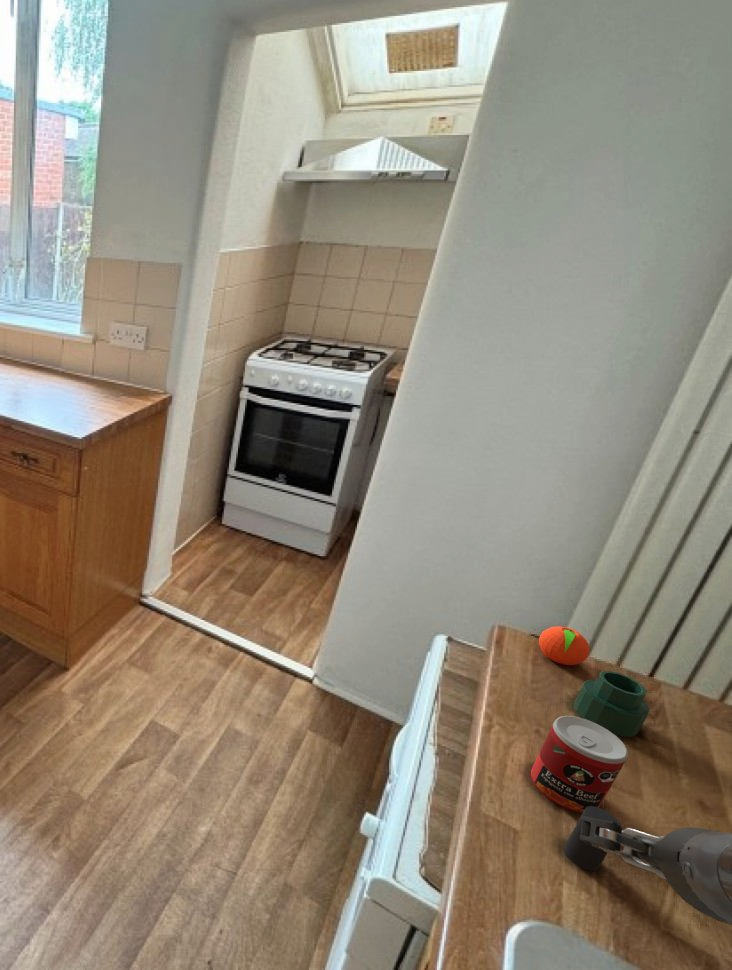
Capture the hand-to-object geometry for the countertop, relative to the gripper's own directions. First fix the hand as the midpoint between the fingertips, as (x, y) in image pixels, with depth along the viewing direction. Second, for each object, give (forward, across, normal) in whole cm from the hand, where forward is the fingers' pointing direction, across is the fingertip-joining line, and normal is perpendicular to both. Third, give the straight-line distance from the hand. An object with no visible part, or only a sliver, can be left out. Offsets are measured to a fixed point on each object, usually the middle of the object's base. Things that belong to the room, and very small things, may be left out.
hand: (647, 857), depth 66 cm
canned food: (+26, 0, -6) cm, 26 cm away
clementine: (+51, -5, -31) cm, 60 cm away
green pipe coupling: (+41, -9, -22) cm, 47 cm away
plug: (+17, 0, +2) cm, 17 cm away
